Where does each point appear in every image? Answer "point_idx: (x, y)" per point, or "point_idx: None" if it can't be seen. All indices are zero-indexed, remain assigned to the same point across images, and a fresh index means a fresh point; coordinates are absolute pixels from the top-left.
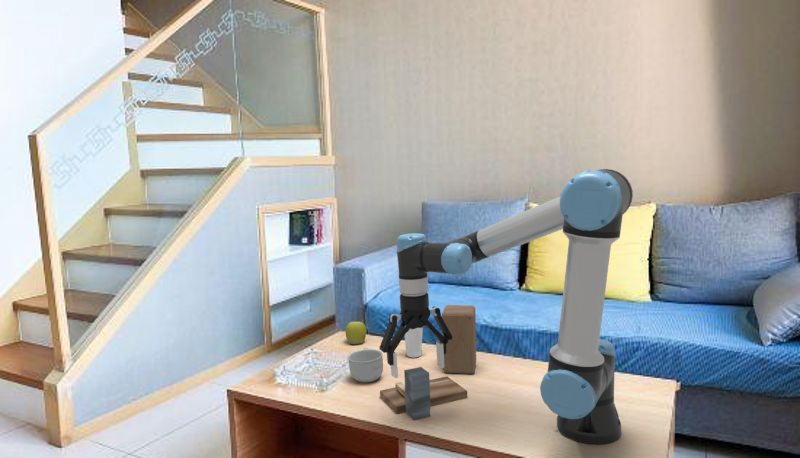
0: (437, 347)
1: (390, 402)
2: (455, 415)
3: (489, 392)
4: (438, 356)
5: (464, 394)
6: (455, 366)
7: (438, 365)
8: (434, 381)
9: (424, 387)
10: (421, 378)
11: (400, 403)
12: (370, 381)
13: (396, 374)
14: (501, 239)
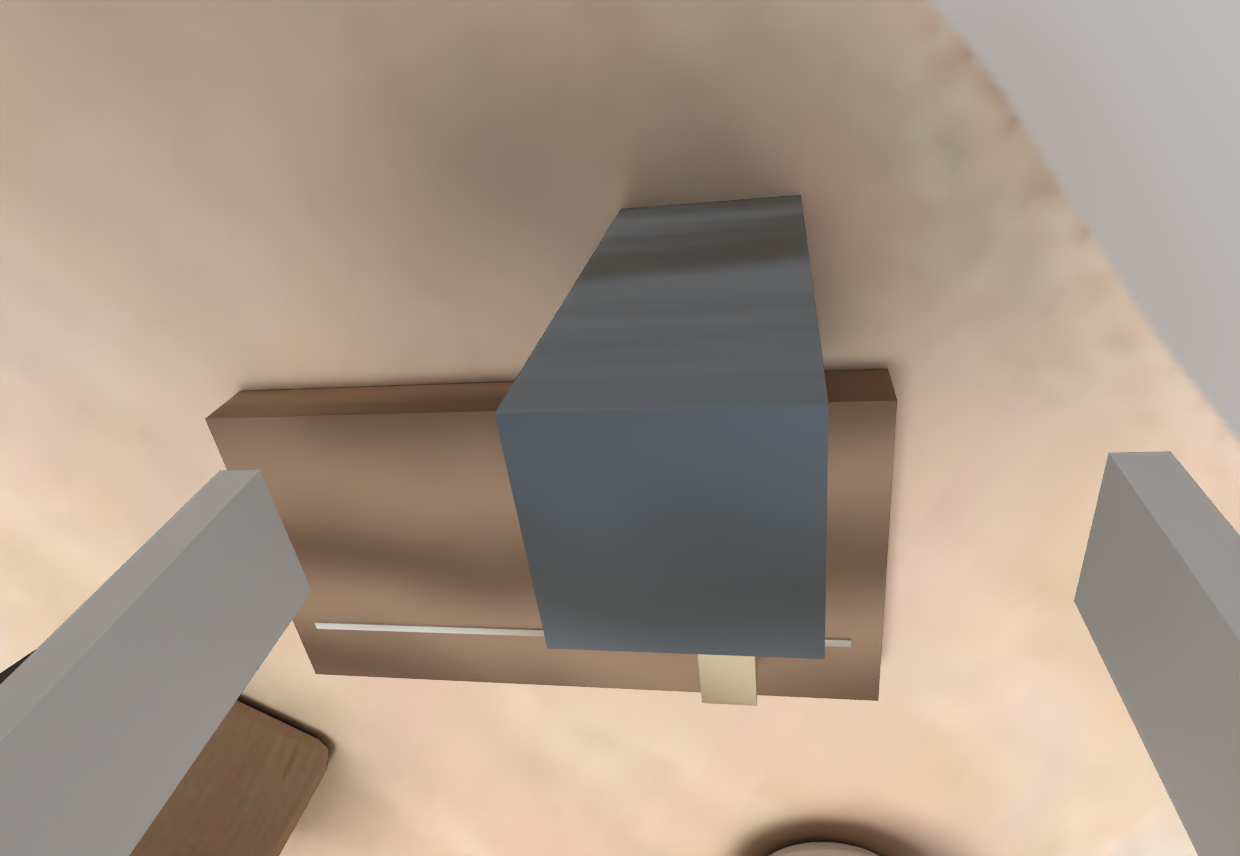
0: (98, 836)
1: (887, 513)
2: (400, 130)
3: (67, 396)
4: (204, 666)
5: (245, 405)
6: (230, 749)
7: (297, 565)
8: (423, 649)
9: (628, 317)
10: (651, 380)
11: (829, 444)
12: (835, 844)
13: (1173, 492)
14: None
